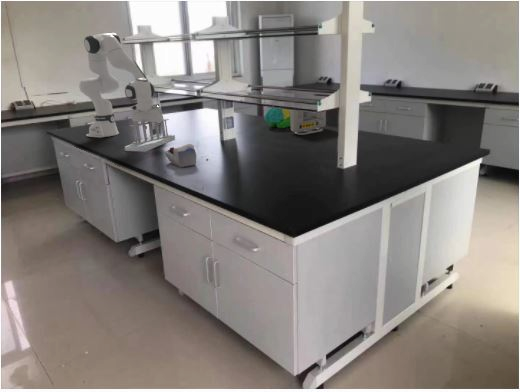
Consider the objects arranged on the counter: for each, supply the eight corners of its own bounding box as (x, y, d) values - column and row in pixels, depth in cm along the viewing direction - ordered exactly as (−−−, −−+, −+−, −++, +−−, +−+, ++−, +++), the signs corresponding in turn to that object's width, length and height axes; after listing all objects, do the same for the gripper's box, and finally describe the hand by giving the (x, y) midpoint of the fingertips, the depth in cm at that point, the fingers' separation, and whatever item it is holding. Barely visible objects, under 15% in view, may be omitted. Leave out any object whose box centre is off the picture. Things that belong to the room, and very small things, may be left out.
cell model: (175, 148, 203) (161, 142, 219) (179, 170, 207) (164, 162, 223) (200, 143, 209) (185, 138, 226) (203, 165, 213) (187, 158, 229)
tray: (125, 150, 251) (124, 146, 250) (156, 138, 280) (156, 134, 279) (145, 151, 246) (144, 147, 245) (175, 138, 275) (174, 134, 274)
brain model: (276, 130, 279) (276, 107, 275) (258, 127, 294) (258, 105, 289) (302, 126, 293) (303, 104, 288) (284, 123, 307) (284, 102, 302)
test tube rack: (136, 144, 253) (132, 122, 249) (132, 143, 256) (129, 121, 252) (171, 136, 270) (168, 115, 265) (167, 135, 273) (164, 115, 268)
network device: (319, 127, 283) (319, 97, 276) (328, 129, 276) (328, 98, 269) (288, 133, 271) (287, 101, 264) (297, 135, 264) (296, 103, 257)
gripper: (163, 105, 254) (166, 128, 259) (134, 105, 261) (138, 127, 266) (157, 107, 249) (160, 130, 253) (128, 107, 256) (132, 129, 260)
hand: (149, 129), depth 260 cm, fingers open, 4 cm apart
